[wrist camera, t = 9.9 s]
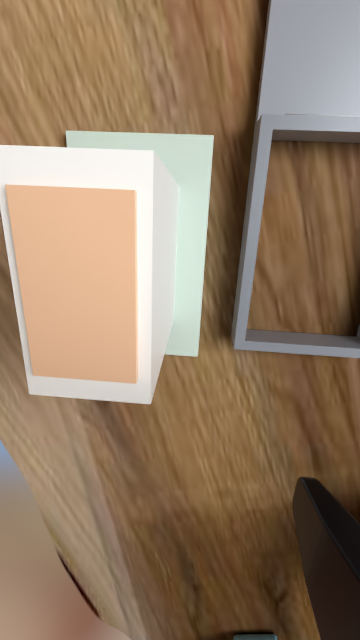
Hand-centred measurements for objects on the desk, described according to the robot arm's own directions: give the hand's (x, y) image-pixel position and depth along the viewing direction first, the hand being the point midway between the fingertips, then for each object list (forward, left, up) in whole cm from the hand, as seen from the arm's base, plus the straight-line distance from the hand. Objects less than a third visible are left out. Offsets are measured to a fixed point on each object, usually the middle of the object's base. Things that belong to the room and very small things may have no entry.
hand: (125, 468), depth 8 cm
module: (+2, -4, -12) cm, 13 cm away
